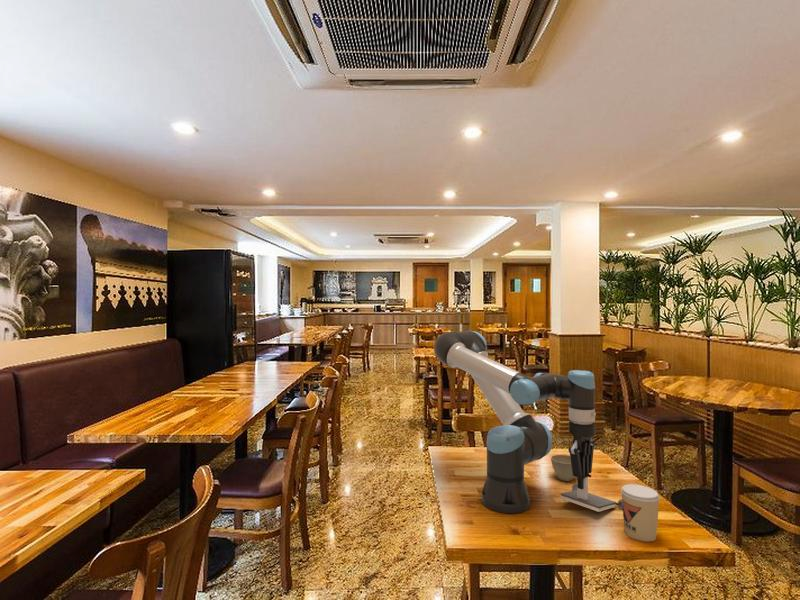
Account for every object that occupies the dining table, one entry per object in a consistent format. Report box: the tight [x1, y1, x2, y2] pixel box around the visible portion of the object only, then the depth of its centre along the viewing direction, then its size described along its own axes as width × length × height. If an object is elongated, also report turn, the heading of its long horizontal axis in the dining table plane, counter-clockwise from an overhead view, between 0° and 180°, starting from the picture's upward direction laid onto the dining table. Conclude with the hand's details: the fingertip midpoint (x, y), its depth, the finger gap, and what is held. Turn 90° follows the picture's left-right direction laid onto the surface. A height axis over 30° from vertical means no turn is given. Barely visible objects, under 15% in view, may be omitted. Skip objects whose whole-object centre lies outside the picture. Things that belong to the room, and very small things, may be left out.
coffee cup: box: [620, 483, 660, 542], centre depth 121 cm, size 9×9×12 cm
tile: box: [560, 490, 617, 513], centre depth 137 cm, size 12×12×2 cm
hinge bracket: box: [571, 483, 623, 511], centre depth 141 cm, size 2×17×2 cm, turn 41°
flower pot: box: [550, 454, 576, 482], centre depth 159 cm, size 10×10×7 cm
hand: (582, 498), depth 134 cm, fingers closed
